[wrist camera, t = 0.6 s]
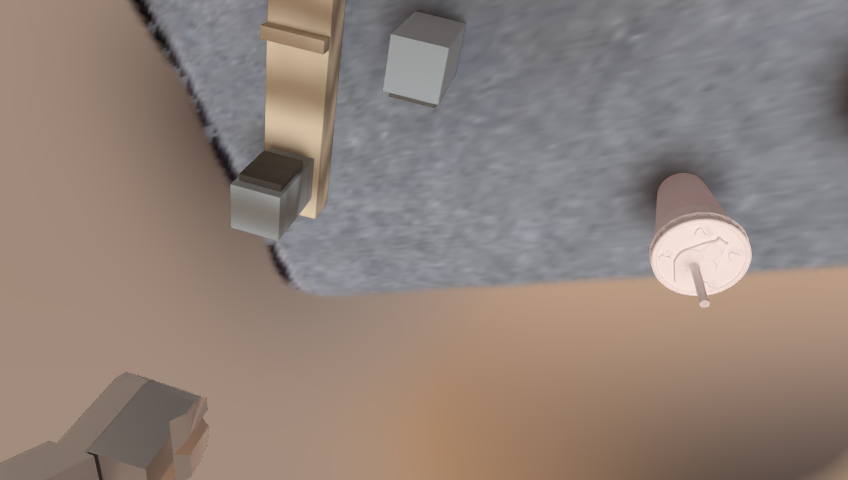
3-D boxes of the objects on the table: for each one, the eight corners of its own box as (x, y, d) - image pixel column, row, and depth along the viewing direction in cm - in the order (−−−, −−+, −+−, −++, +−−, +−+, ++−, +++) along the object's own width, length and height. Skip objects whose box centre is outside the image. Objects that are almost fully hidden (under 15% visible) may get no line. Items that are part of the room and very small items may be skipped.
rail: (287, -93, 44) (219, -80, 35) (353, -78, 43) (299, -61, 35) (277, 189, 57) (225, 245, 49) (326, 203, 57) (283, 262, 49)
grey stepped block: (415, 11, 46) (390, 34, 40) (466, 23, 45) (449, 48, 40) (406, 69, 48) (381, 98, 43) (454, 81, 48) (436, 112, 42)
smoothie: (622, 199, 50) (634, 302, 39) (679, 141, 46) (711, 236, 35) (683, 240, 51) (711, 353, 39) (743, 186, 47) (795, 293, 36)
